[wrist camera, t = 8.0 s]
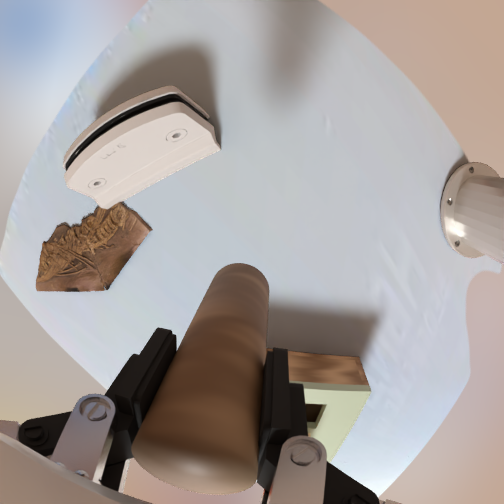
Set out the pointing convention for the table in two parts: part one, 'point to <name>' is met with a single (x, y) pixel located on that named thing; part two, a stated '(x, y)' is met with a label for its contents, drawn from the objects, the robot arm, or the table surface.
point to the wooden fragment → (90, 251)
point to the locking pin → (212, 392)
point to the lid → (334, 411)
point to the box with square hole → (324, 373)
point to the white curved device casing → (138, 145)
